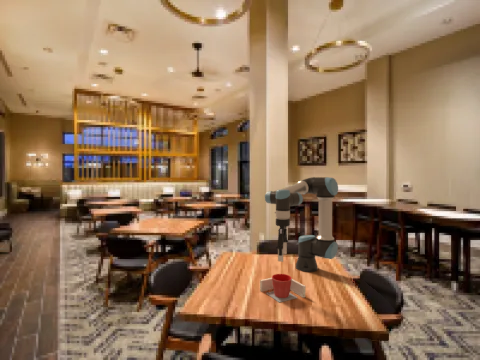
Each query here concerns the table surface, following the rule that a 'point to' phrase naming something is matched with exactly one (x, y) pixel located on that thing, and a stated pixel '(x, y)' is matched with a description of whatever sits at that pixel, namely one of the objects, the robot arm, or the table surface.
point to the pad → (281, 298)
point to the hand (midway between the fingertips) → (282, 257)
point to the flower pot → (281, 285)
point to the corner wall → (295, 287)
